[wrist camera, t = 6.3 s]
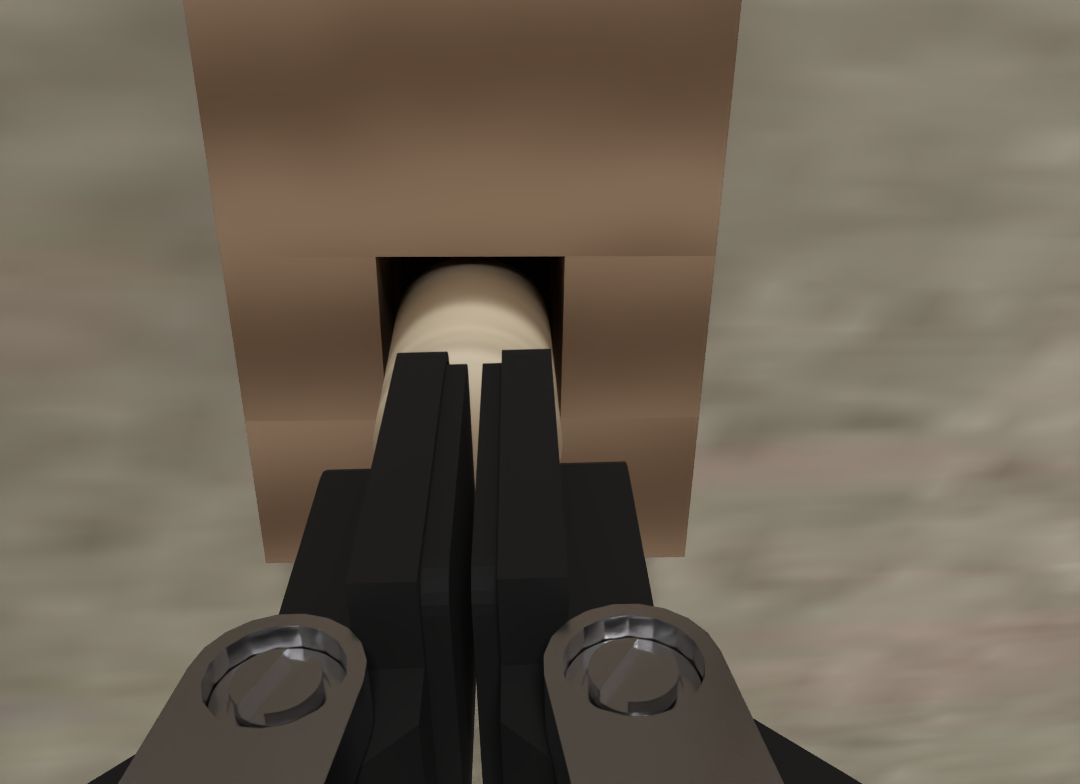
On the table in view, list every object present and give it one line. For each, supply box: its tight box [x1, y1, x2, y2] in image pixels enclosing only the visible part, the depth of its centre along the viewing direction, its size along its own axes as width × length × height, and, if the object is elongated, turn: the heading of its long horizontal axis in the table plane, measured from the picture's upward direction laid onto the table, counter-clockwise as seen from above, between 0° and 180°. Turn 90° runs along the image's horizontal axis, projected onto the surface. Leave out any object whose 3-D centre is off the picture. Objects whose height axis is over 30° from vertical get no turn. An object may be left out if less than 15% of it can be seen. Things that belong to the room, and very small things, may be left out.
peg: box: [373, 257, 563, 488], centre depth 24 cm, size 4×4×6 cm
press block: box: [183, 0, 742, 563], centre depth 25 cm, size 28×12×6 cm, turn 179°
